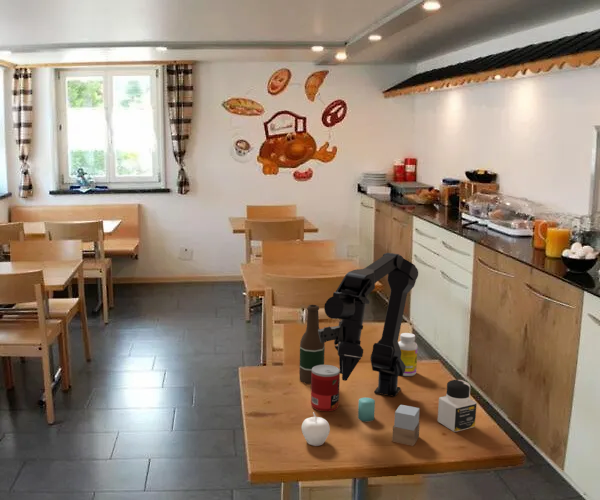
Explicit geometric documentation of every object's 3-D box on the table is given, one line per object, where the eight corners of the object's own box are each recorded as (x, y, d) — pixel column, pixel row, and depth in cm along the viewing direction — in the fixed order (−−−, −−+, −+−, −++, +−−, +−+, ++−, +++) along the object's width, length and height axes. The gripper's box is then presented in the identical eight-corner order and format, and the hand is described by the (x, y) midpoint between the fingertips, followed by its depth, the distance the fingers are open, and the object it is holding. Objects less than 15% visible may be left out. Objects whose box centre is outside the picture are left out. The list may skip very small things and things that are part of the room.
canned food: (336, 413, 180) (337, 375, 178) (308, 410, 181) (309, 373, 179) (340, 401, 187) (341, 365, 185) (313, 399, 189) (314, 363, 186)
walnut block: (398, 432, 169) (398, 418, 168) (418, 437, 167) (419, 422, 166) (392, 441, 164) (392, 427, 163) (413, 446, 162) (414, 431, 161)
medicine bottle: (454, 432, 169) (457, 389, 167) (436, 421, 176) (439, 379, 173) (475, 427, 173) (478, 384, 170) (457, 416, 179) (460, 375, 177)
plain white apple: (309, 433, 168) (310, 404, 166) (334, 440, 164) (335, 411, 163) (295, 444, 162) (296, 414, 160) (320, 452, 158) (321, 421, 157)
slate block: (399, 418, 168) (400, 404, 167) (418, 422, 166) (419, 408, 165) (394, 426, 164) (394, 412, 163) (413, 430, 162) (414, 415, 161)
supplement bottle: (417, 377, 206) (419, 338, 204) (396, 376, 207) (398, 338, 204) (415, 369, 213) (417, 332, 210) (394, 368, 213) (396, 331, 211)
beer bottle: (308, 373, 208) (310, 300, 204) (328, 379, 204) (330, 305, 199) (294, 380, 202) (295, 306, 197) (314, 386, 198) (316, 310, 193)
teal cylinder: (361, 413, 180) (361, 396, 179) (376, 416, 178) (377, 399, 177) (355, 419, 176) (356, 402, 175) (371, 422, 174) (371, 405, 173)
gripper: (321, 311, 182) (312, 366, 182) (324, 318, 164) (314, 379, 164) (360, 317, 182) (351, 372, 182) (367, 325, 164) (357, 386, 164)
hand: (343, 377), depth 173 cm, fingers open, 9 cm apart
